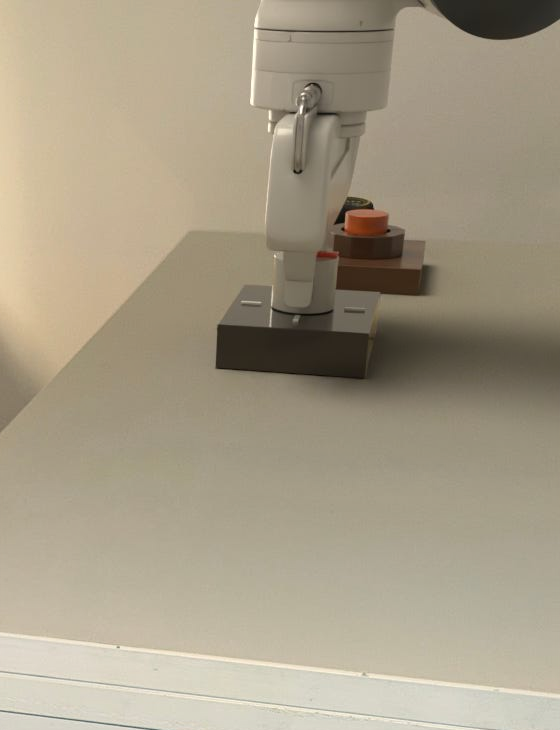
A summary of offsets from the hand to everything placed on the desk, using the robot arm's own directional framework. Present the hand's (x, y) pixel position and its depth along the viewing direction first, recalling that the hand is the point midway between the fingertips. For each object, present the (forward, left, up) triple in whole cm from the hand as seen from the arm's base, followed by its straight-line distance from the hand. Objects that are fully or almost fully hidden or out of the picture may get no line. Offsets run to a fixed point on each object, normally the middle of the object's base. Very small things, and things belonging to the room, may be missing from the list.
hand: (303, 293), depth 91 cm
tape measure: (-29, -26, -4) cm, 39 cm away
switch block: (-20, -14, -4) cm, 25 cm away
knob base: (0, 0, -4) cm, 4 cm away
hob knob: (0, 0, -1) cm, 1 cm away
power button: (-20, -14, 0) cm, 24 cm away
